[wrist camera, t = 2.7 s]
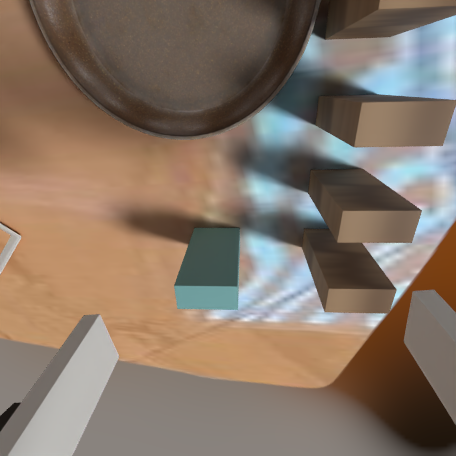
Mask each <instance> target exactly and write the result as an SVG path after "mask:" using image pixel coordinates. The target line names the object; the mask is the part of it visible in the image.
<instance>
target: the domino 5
mask: <svg viewBox="0 0 456 456" xmlns="http://www.w3.org/2000/svg"><path fill="white" fill-rule="evenodd" d="M302 249H303V252H304V255H305V258H306V260H307V263H308V266H309V269H310V272H311V275H312V277H313V280H314V283H315V286H316V289H317V292H318V294H319V297H320V300H321V303H322V306H323V309H324V311H325V312H339V313H389V312H390V309H391V305H392V302H393V299H394V296H395V293H396V288H395V287H394V286H393V284H392V283H391V281H390V280H389V279H388V277H387V276H386V275H385V273H384V272H383V271H382V269H381V268H380V267H379V265H378V264H377V263H376V261H375V260H374V259H373V257H372V256H371V255H370V253H369V252H368V250H367V249H366V248H365V246H364V245H363V244H362V243H337V241H336V239H335V238H334V236H333V234H332V233H331V231H330V229H304V234H303V243H302Z"/></svg>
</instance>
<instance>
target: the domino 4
mask: <svg viewBox="0 0 456 456" xmlns="http://www.w3.org/2000/svg"><path fill="white" fill-rule="evenodd" d="M308 194H309V195H310V197H311V199H312V200H313V202H314V204H315V206H316V207H317V209H318V211H319V212H320V214H321V216H322V217H323V219H324V221H325V222H326V224H327V226H328V228H329V229H330V231H331V233H332V234H333V236H334V238H335V239H336V241H337V243H412V240H413V237H414V234H415V231H416V228H417V225H418V222H419V219H420V215H421V212H422V210H420V209H419V208H418V207H416V206H415V205H413V204H412V203H410V202H409V201H408V200H406V199H405V198H403V197H402V196H401V195H399V194H398V193H396V192H395V191H394V190H392V189H391V188H389V187H388V186H386V185H385V184H384V183H382V182H381V181H379V180H378V179H377V178H375V177H374V176H372V175H371V174H369V173H368V172H367V171H365V170H364V169H324V170H311V171H310V180H309V189H308Z"/></svg>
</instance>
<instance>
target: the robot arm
mask: <svg viewBox="0 0 456 456" xmlns="http://www.w3.org/2000/svg"><path fill="white" fill-rule="evenodd" d="M404 343H405V344H406V346H407V347H408V349H409V351H410V352H411V354H412V355H413V357H414V359H415V360H416V362H417V363H418V365H419V367H420V368H421V370H422V371H423V373H424V375H425V376H426V378H427V379H428V381H429V383H430V384H431V386H432V387H433V389H434V390H435V392H436V394H437V395H438V397H439V399H440V400H441V402H442V403H443V405H444V407H445V408H446V410H447V411H448V413H449V414H450V416H451V418H452V419H453V421H454V422H455V424H456V313H455V312H454V311H453V310H452V309H451V307H450V306H449V305H448V304H447V303H446V302H445V301H444V300H443V299H442V298H441V297H440V296H439V295H438V294H437V293H436V292H435V290H426V291H414V292H413V294H412V300H411V306H410V310H409V316H408V321H407V326H406V332H405V337H404ZM118 358H119V355H118V353H117V351H116V348H115V346H114V344H113V342H112V340H111V338H110V335H109V333H108V331H107V329H106V327H105V325H104V322H103V320H102V318H101V316H100V314H96V315H84V316H83V317H82V319H81V320H80V321H79V323H78V324H77V326H76V327H75V328H74V330H73V331H72V333H71V334H70V335H69V337H68V338H67V340H66V341H65V342H64V344H63V345H62V347H61V348H60V349H59V351H58V352H57V353H56V355H55V356H54V358H53V359H52V360H51V362H50V364H49V365H48V366H47V367H46V369H45V370H44V372H43V373H42V374H41V376H40V377H39V379H38V380H37V381H36V383H35V384H34V386H33V387H32V388H31V390H30V391H29V393H28V394H27V395H26V397H25V398H24V400H23V401H22V402H21V403H14V404H13V405H12V406H11V407H10V408H8V409H7V410H6V411H5V412H4V413H3V414H2V415H1V416H0V456H72V455H73V453H74V451H75V449H76V447H77V445H78V443H79V440H80V438H81V436H82V434H83V432H84V430H85V428H86V426H87V423H88V421H89V419H90V417H91V415H92V413H93V411H94V409H95V407H96V405H97V402H98V400H99V398H100V396H101V394H102V392H103V390H104V388H105V385H106V384H107V381H108V379H109V377H110V375H111V373H112V371H113V369H114V366H115V364H116V362H117V360H118Z"/></svg>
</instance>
